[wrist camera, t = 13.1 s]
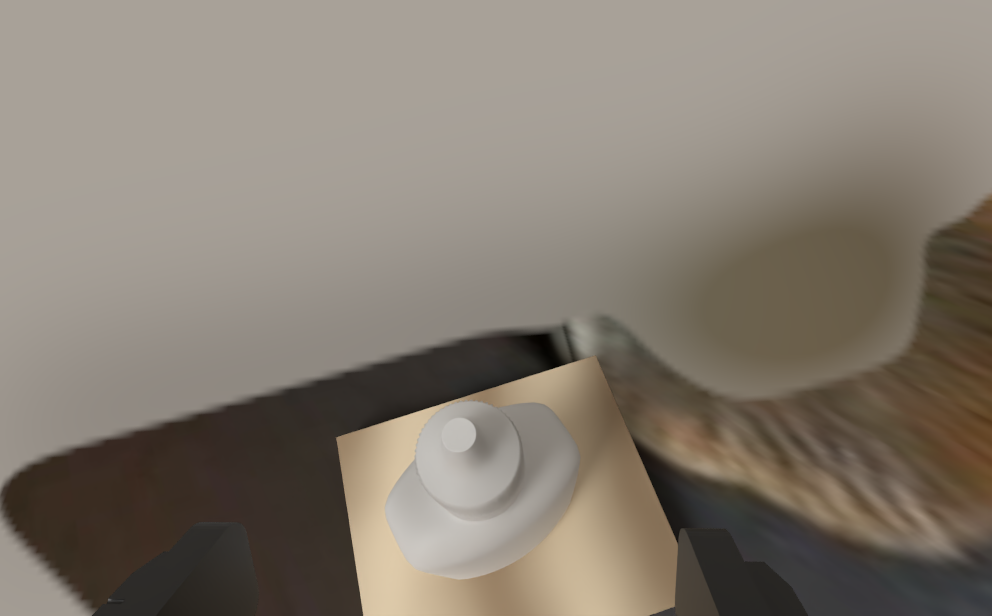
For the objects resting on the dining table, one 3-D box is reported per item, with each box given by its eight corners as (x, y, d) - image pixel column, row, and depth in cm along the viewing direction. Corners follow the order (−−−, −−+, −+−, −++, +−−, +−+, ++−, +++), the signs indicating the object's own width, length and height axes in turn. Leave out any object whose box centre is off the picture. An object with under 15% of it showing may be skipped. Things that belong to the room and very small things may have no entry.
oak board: (593, 365, 25) (595, 355, 24) (692, 597, 20) (700, 596, 19) (345, 444, 24) (336, 437, 23) (387, 705, 19) (378, 712, 18)
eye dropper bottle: (431, 464, 22) (329, 345, 12) (566, 454, 22) (586, 323, 11) (431, 581, 20) (305, 567, 9) (579, 572, 20) (621, 546, 9)
